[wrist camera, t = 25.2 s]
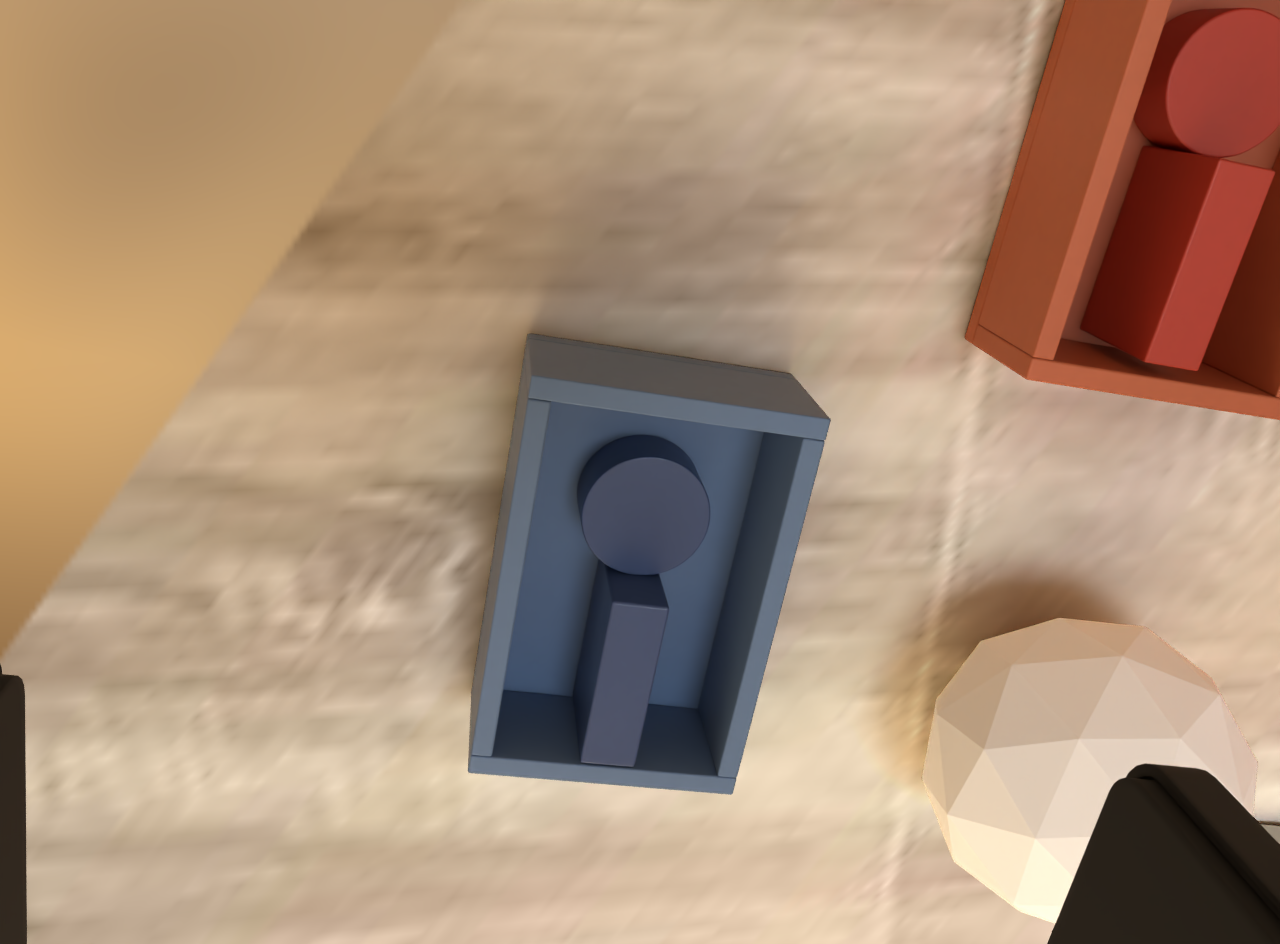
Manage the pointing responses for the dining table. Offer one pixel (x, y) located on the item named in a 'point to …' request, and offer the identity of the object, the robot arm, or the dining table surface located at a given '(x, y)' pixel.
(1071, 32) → the red bin
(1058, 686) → the decorative ball
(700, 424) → the blue bin
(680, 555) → the blue spoon
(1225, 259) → the red disc on stick
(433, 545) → the dining table surface
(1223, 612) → the dining table surface
